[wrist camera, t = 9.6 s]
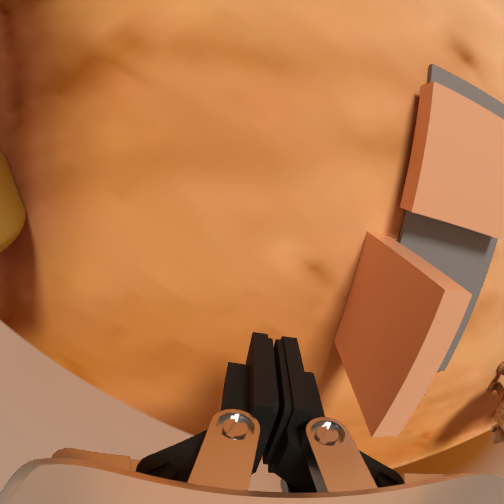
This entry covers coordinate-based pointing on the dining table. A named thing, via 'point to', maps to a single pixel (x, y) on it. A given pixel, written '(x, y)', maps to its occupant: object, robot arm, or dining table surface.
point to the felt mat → (449, 235)
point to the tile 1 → (396, 331)
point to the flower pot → (9, 206)
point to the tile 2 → (456, 162)
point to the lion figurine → (498, 409)
